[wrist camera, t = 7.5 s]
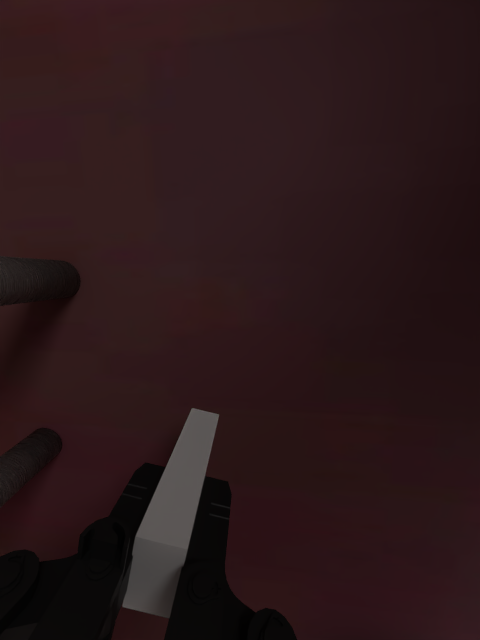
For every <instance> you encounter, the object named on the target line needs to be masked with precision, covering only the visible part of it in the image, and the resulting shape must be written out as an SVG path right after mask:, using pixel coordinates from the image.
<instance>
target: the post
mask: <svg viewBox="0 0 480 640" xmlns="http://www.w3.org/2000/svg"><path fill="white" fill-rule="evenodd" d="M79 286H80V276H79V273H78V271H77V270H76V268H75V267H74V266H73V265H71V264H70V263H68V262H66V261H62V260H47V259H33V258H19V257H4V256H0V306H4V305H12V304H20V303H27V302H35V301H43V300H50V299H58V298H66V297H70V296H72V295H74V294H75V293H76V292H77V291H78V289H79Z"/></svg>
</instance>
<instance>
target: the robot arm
mask: <svg viewBox="0 0 480 640" xmlns="http://www.w3.org/2000/svg"><path fill="white" fill-rule="evenodd" d="M218 418H219V414H215V413H211V412H206V411H202V410H198V409H194V408H192V409H191V411H190V414H189V416H188V418H187V421H186V423H185V425H184V427H183V430H182V432H181V434H180V436H179V439H178V441H177V443H176V445H175V448H174V450H173V452H172V455H171V457H170V459H169V461H168V464H167V466H166V467H162V466H158V465H154V464H150V463H145V464H143V465H142V466H141V467H140V468H138V469H137V470H136V471H135V472H134V474H133V476H132V478H131V479H130V481H129V483H128V485H127V486H126V488H125V489H124V491H123V493H122V495H121V496H120V498H119V500H118V501H117V503H116V505H115V507H114V508H113V510H112V512H111V513H110V515H109V517H106V518H103V519H100V520H97V521H95V522H94V523H92V524H91V525H89V526H88V527H87V528H86V529H85V530H84V531H83V533H82V534H81V535H80V538H79V546H78V553H77V554H75V555H73V556H71V557H67V558H63V559H57V560H50V561H43V562H39V558H38V557H37V556H36V554H35V553H34V552H31V551H28V550H18V551H12V552H10V553H8V554H5V555H3V556H1V557H0V640H111V637H112V633H113V629H114V625H115V620H116V618H117V615H118V612H119V610H120V607H121V605H122V602H123V606H122V607H125V608H129V609H133V610H137V611H141V612H145V613H149V614H153V615H157V616H161V617H165V618H169V622H168V626H167V630H166V634H165V638H164V640H297V639H296V636H295V634H294V631H293V628H292V627H291V625H290V624H289V622H288V621H287V620H286V618H285V617H284V616H283V615H282V614H280V613H279V612H277V611H276V610H274V609H268V608H265V609H262V610H260V611H257V613H255V612H254V611H253V610H251V609H250V608H249V607H247V606H246V605H245V604H243V603H242V602H241V601H240V600H239V599H238V598H237V597H236V596H235V595H234V594H233V592H232V591H231V589H230V587H229V585H228V583H227V580H226V575H225V557H226V547H227V536H228V526H229V515H230V505H231V495H232V494H231V490H230V487H229V484H228V482H227V481H223V480H219V479H215V478H211V477H206V476H205V473H206V469H207V465H208V460H209V456H210V452H211V448H212V443H213V439H214V435H215V430H216V426H217V422H218ZM123 600H124V601H123Z"/></svg>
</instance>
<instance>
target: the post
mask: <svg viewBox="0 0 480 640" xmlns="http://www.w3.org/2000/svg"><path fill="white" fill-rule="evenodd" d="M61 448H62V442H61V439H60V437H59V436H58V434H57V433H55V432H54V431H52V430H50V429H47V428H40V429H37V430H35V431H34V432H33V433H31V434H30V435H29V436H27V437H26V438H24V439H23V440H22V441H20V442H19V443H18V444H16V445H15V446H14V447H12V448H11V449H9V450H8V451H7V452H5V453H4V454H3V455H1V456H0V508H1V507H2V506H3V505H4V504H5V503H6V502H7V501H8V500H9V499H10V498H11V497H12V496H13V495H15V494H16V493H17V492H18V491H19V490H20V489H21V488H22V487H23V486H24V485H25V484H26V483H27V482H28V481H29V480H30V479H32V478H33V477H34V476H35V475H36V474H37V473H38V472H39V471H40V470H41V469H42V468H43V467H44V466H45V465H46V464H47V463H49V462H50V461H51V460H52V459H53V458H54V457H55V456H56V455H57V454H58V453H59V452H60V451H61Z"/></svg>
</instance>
